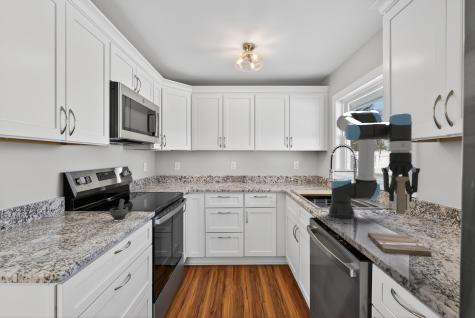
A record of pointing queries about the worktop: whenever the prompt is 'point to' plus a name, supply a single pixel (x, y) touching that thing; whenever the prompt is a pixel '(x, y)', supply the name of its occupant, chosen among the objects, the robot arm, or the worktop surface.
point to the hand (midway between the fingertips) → (400, 209)
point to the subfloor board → (398, 244)
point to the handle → (401, 194)
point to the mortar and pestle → (119, 211)
